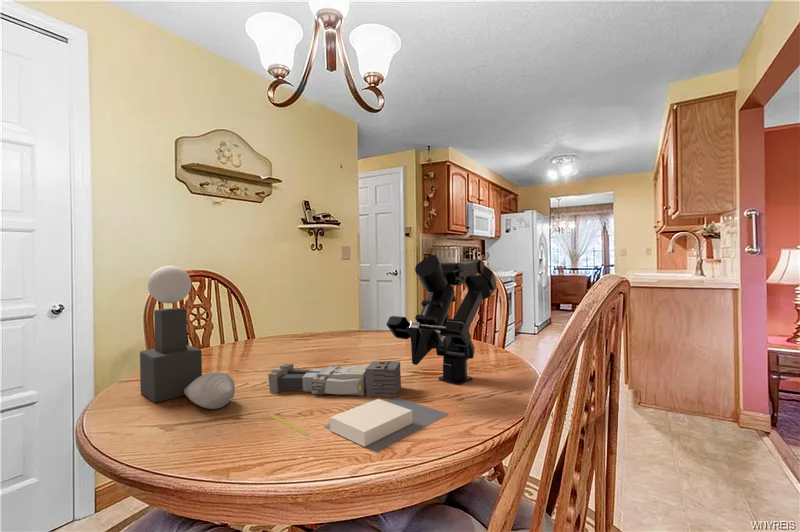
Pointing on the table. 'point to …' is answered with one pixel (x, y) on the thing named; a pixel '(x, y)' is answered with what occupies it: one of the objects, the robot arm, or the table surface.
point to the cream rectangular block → (370, 421)
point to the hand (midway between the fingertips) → (414, 363)
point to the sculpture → (169, 340)
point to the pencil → (289, 425)
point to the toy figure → (340, 379)
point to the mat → (420, 419)
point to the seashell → (211, 390)
